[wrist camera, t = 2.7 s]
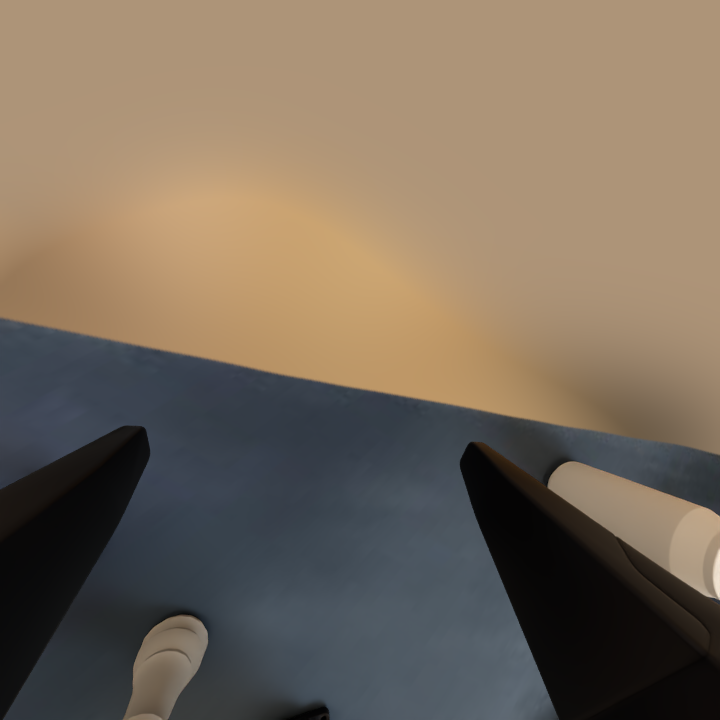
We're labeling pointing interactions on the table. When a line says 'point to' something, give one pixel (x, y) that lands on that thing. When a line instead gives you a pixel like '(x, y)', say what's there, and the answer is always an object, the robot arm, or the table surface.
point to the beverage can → (648, 522)
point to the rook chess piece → (166, 666)
